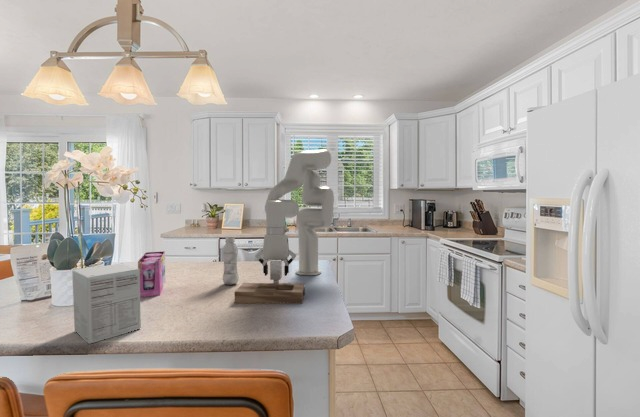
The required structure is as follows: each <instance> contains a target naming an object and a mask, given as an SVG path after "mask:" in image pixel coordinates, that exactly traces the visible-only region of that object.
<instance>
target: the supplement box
mask: <svg viewBox="0 0 640 417" xmlns="http://www.w3.org/2000/svg"><path fill="white" fill-rule="evenodd" d="M71 273H72V296H73V320H74V321H73V323H74V333H76V332H77V333H78V334H79V335H80V336H79V335H78V334H77V333H76V334H77V335H78V336H79V337H80V338H82V339H83V341H85V342H86V343H87V344H89V345H90V344H94V343H97V342H100V341H101V342H102V341H105V340H107V339H111V338H114V337H118V336H121V334H122V335H126V334H128V332H129V333H132V332H135V331H134V330H136V331H138V330H137V329H139V330H141V329H142V327H141V325H142V324H141V322H142V321H141V320H142V318H141V315H142V314H141V297H140V269H138V267H134V266H131V265H128V264H124V263H115V264H114V263H113V264H108V265H102V266H101V265H100V266H94V267H87V268H81V269H74V270H73V269H72V272H71ZM140 328H141V329H140ZM131 331H132V332H131ZM104 339H105V340H104Z"/></svg>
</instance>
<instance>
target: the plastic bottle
mask: <svg viewBox="0 0 640 417" xmlns="http://www.w3.org/2000/svg"><path fill="white" fill-rule="evenodd" d="M235 240H236V239H235V237H232V236H230V237H225V240H224V241H225V244H224V246H222V250H221V252H222V259H223V273H222V283H223V284H224V285H231V286H232V285H235V284H238V283H239V280H240V279H239V272H238V252H239V249H238V247H237V246H236V244H235Z"/></svg>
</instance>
